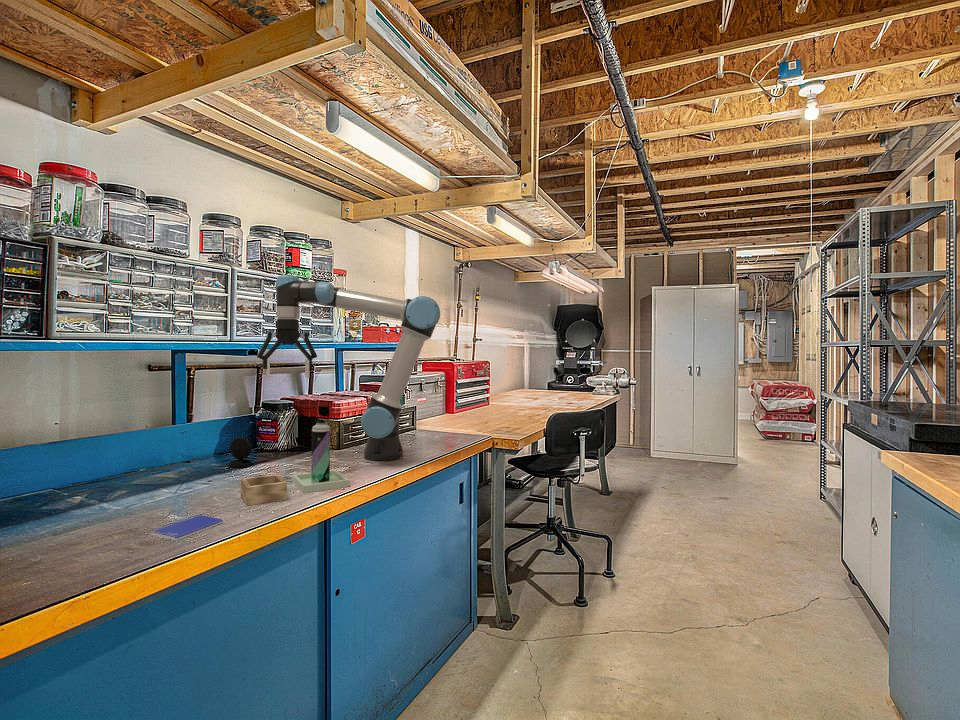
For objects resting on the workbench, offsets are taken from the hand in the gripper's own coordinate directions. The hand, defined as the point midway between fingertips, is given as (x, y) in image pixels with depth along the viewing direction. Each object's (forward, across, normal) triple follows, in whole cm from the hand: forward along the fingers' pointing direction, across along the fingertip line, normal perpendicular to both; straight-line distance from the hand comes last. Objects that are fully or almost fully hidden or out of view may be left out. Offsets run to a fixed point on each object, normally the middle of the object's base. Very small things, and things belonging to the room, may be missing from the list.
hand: (287, 378), depth 182 cm
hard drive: (+32, +35, +53) cm, 71 cm away
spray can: (+31, -3, +31) cm, 44 cm away
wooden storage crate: (+31, +15, +37) cm, 51 cm away
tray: (+32, -3, +31) cm, 44 cm away
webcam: (+31, +15, -5) cm, 35 cm away
